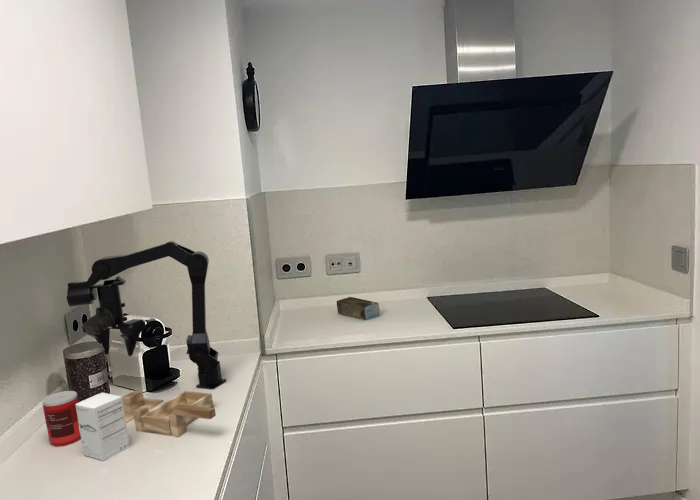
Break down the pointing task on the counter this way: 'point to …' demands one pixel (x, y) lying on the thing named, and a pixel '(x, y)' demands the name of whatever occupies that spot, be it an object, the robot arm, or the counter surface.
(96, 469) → the counter surface
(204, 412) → the brown wooden bar
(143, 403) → the lid
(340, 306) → the beverage carton
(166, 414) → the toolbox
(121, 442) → the supplement box
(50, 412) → the canned food
